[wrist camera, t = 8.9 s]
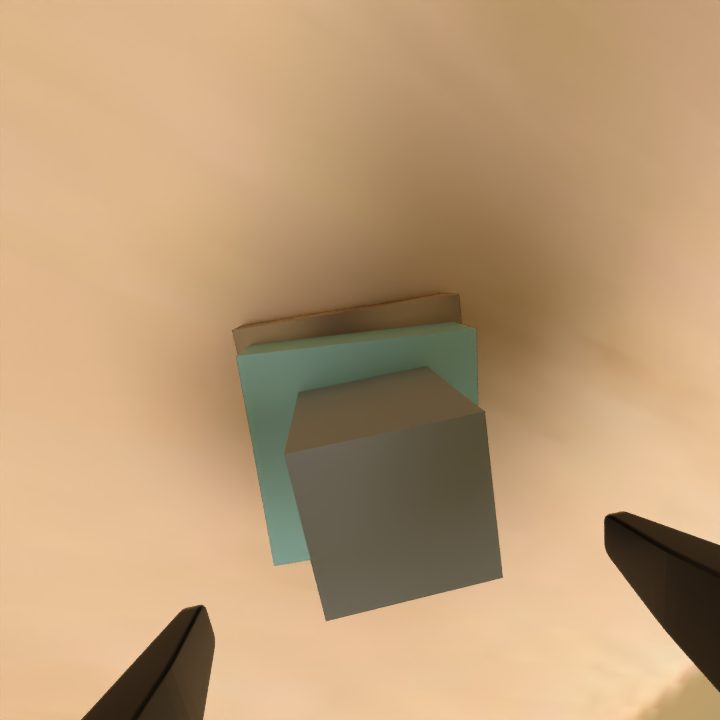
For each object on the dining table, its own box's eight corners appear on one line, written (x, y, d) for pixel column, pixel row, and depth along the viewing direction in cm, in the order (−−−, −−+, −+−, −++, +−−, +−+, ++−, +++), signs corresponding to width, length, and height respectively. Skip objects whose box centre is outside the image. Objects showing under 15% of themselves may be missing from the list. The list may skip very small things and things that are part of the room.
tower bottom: (440, 292, 18) (459, 294, 16) (457, 467, 20) (476, 492, 18) (244, 324, 17) (232, 330, 15) (284, 501, 20) (278, 532, 17)
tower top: (452, 321, 16) (476, 328, 13) (460, 498, 18) (481, 531, 15) (249, 344, 15) (236, 356, 13) (280, 525, 17) (274, 566, 15)
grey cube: (426, 366, 14) (484, 411, 9) (443, 480, 15) (502, 577, 10) (298, 392, 13) (284, 454, 8) (324, 507, 14) (326, 621, 10)
